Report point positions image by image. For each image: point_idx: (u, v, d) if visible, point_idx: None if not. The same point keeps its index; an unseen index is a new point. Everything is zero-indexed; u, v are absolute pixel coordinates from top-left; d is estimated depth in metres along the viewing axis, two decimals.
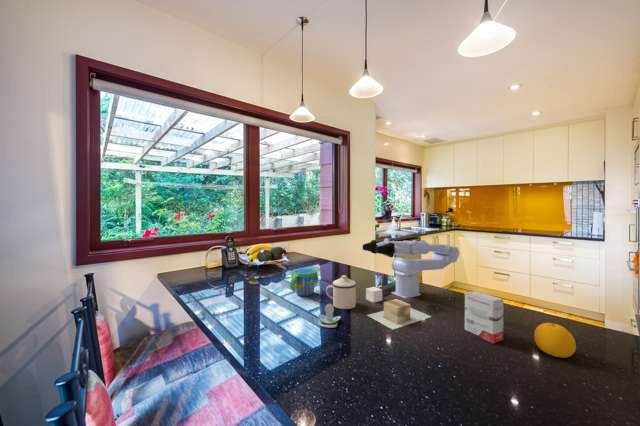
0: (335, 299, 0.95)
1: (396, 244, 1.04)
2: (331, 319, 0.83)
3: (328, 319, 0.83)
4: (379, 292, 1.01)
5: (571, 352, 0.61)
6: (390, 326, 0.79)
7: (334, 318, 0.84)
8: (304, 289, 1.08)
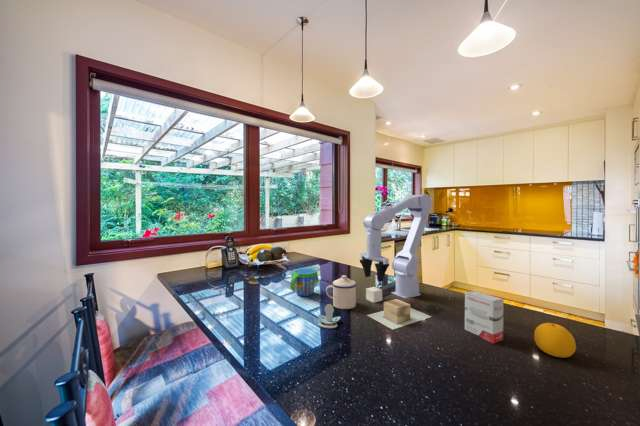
0: (335, 299, 0.95)
1: (374, 249, 0.99)
2: (331, 319, 0.83)
3: (328, 319, 0.83)
4: (379, 292, 1.01)
5: (571, 352, 0.61)
6: (390, 326, 0.79)
7: (334, 318, 0.84)
8: (304, 289, 1.08)
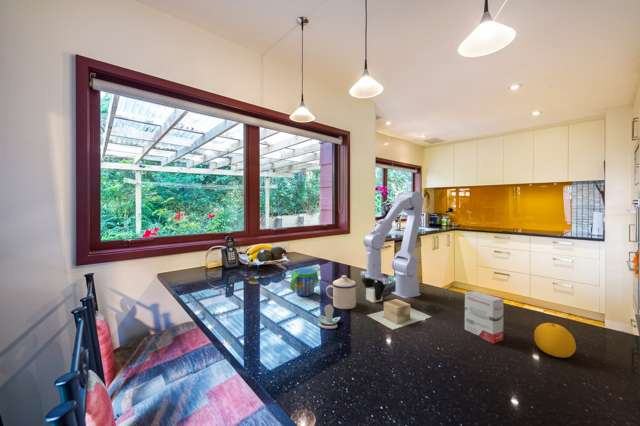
0: (335, 299, 0.95)
1: (374, 269, 0.99)
2: (331, 320, 0.82)
3: (328, 320, 0.82)
4: None
5: (571, 352, 0.61)
6: (390, 326, 0.79)
7: (334, 319, 0.84)
8: (304, 289, 1.08)
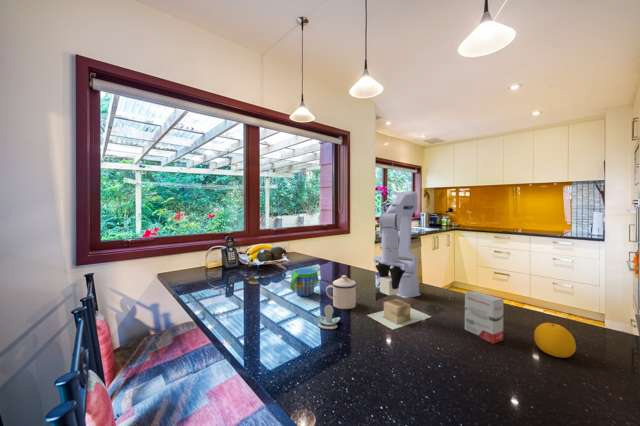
0: (335, 299, 0.95)
1: (390, 253, 0.86)
2: (330, 320, 0.82)
3: (327, 320, 0.82)
4: None
5: (571, 352, 0.61)
6: (390, 326, 0.79)
7: (333, 319, 0.83)
8: (304, 289, 1.08)
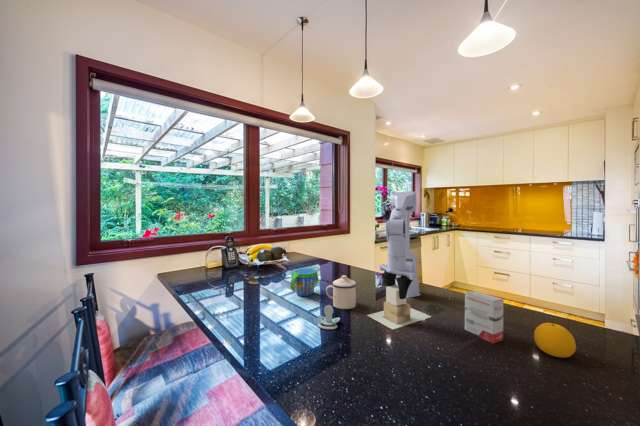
0: (335, 299, 0.95)
1: (397, 261, 0.82)
2: (330, 320, 0.82)
3: (327, 320, 0.82)
4: None
5: (571, 352, 0.61)
6: (390, 326, 0.79)
7: (333, 319, 0.83)
8: (304, 289, 1.08)
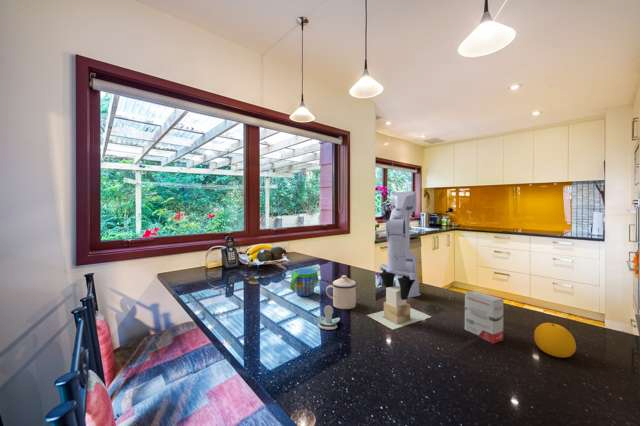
0: (335, 299, 0.95)
1: (397, 261, 0.82)
2: (330, 321, 0.82)
3: (327, 321, 0.82)
4: None
5: (571, 352, 0.61)
6: (390, 326, 0.79)
7: (333, 320, 0.83)
8: (304, 289, 1.08)
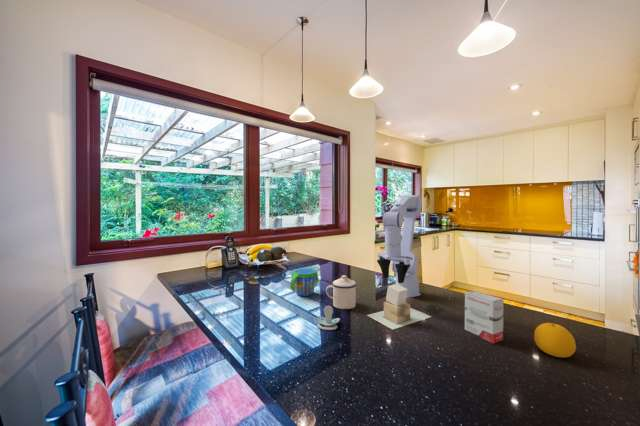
0: (335, 299, 0.95)
1: (393, 249, 0.93)
2: (330, 321, 0.82)
3: (327, 321, 0.82)
4: (404, 292, 0.83)
5: (571, 352, 0.61)
6: (390, 326, 0.79)
7: (333, 320, 0.83)
8: (304, 289, 1.08)
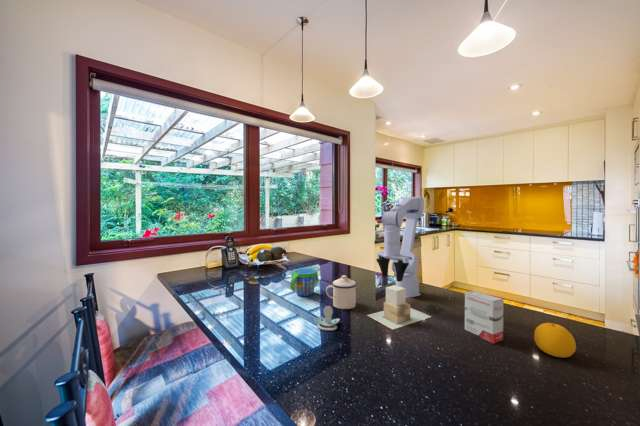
0: (335, 299, 0.95)
1: (392, 247, 0.94)
2: (330, 322, 0.81)
3: (327, 322, 0.81)
4: (402, 291, 0.84)
5: (571, 352, 0.61)
6: (390, 326, 0.79)
7: (333, 320, 0.82)
8: (304, 289, 1.08)
